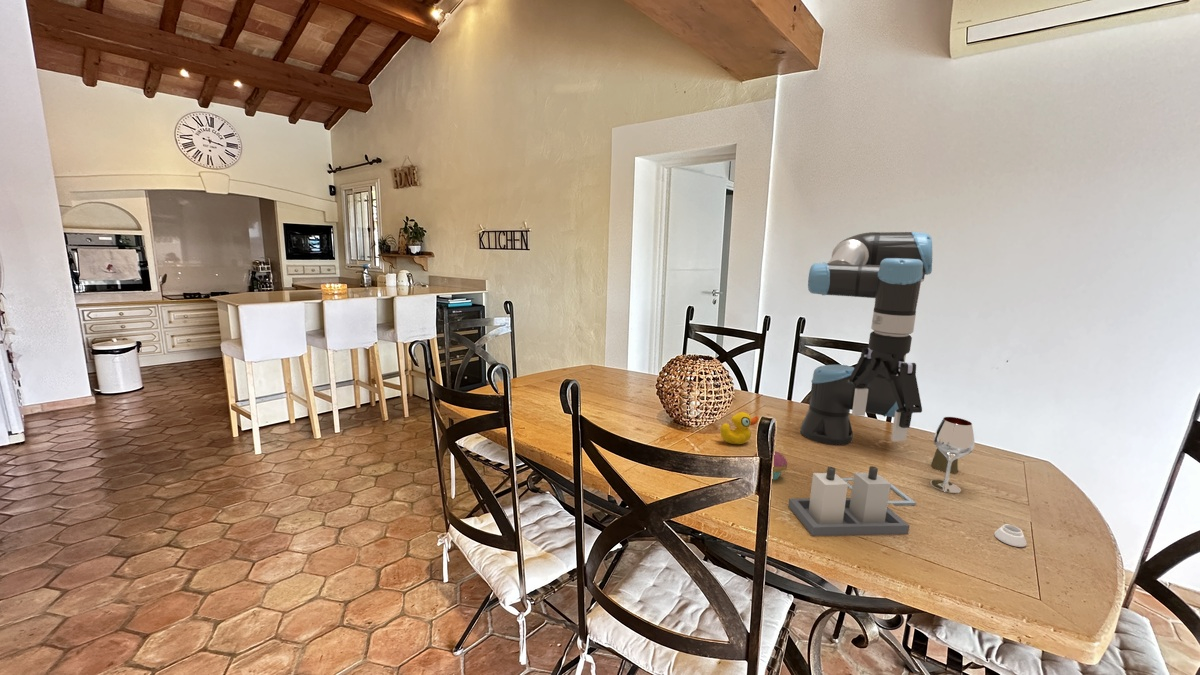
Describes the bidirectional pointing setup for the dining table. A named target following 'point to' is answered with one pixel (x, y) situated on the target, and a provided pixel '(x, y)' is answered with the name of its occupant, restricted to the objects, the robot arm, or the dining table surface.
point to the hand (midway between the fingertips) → (876, 427)
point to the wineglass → (953, 447)
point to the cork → (943, 463)
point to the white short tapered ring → (1011, 535)
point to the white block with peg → (869, 497)
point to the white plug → (827, 497)
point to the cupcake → (778, 464)
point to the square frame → (905, 497)
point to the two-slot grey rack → (847, 522)
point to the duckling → (738, 428)
